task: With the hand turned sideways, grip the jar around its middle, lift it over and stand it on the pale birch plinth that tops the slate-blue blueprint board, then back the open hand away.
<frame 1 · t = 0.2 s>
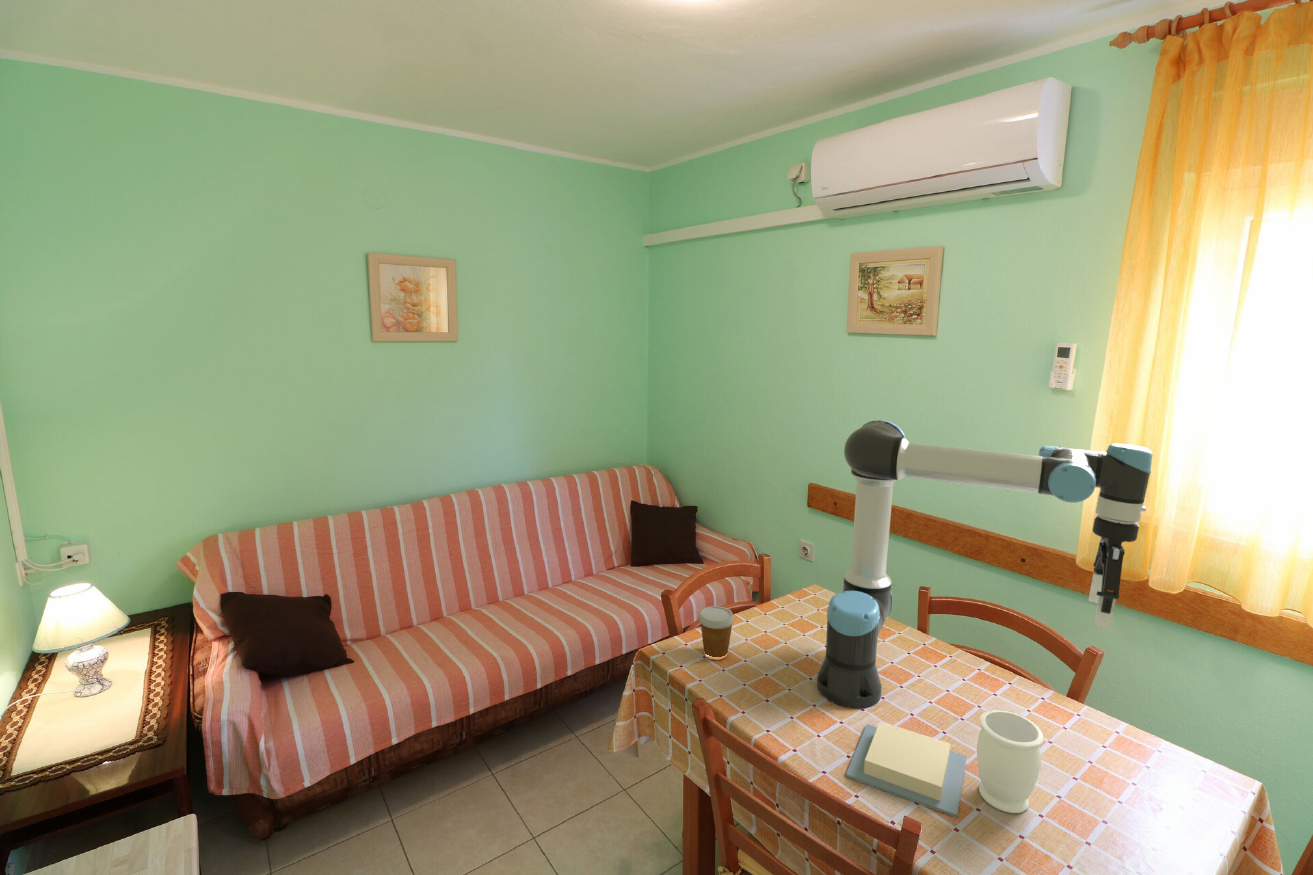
hand: (1098, 613, 132), 27 cm above the table, tool pointing down, fingers open, 13 cm apart
jar: (1003, 797, 117), on the table
blueprint base: (907, 767, 125), on the table
disposable coffee cup: (715, 655, 167), on the table
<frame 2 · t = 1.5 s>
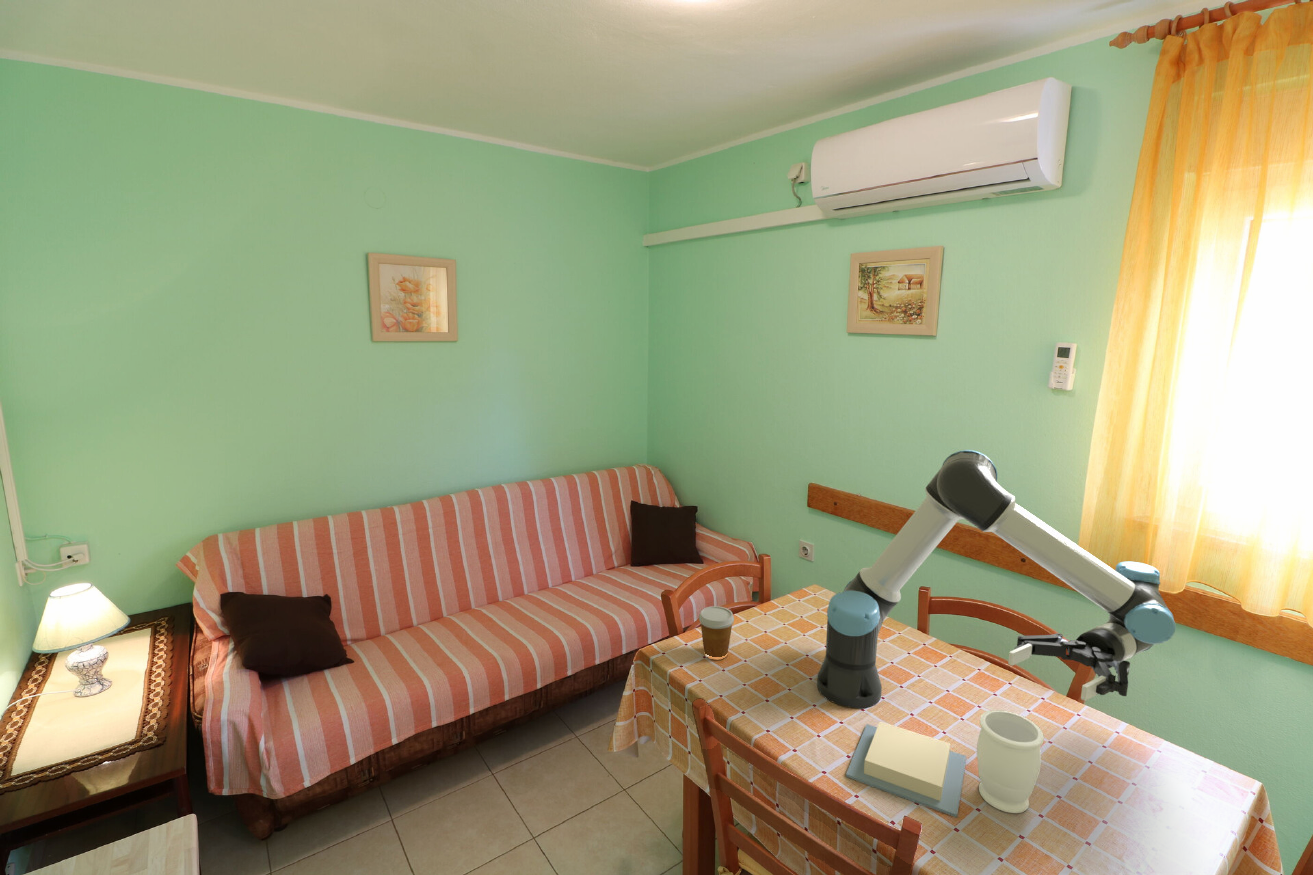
hand: (1045, 675, 118), 22 cm above the table, tool horizontal, fingers open, 13 cm apart
nothing on the table moved.
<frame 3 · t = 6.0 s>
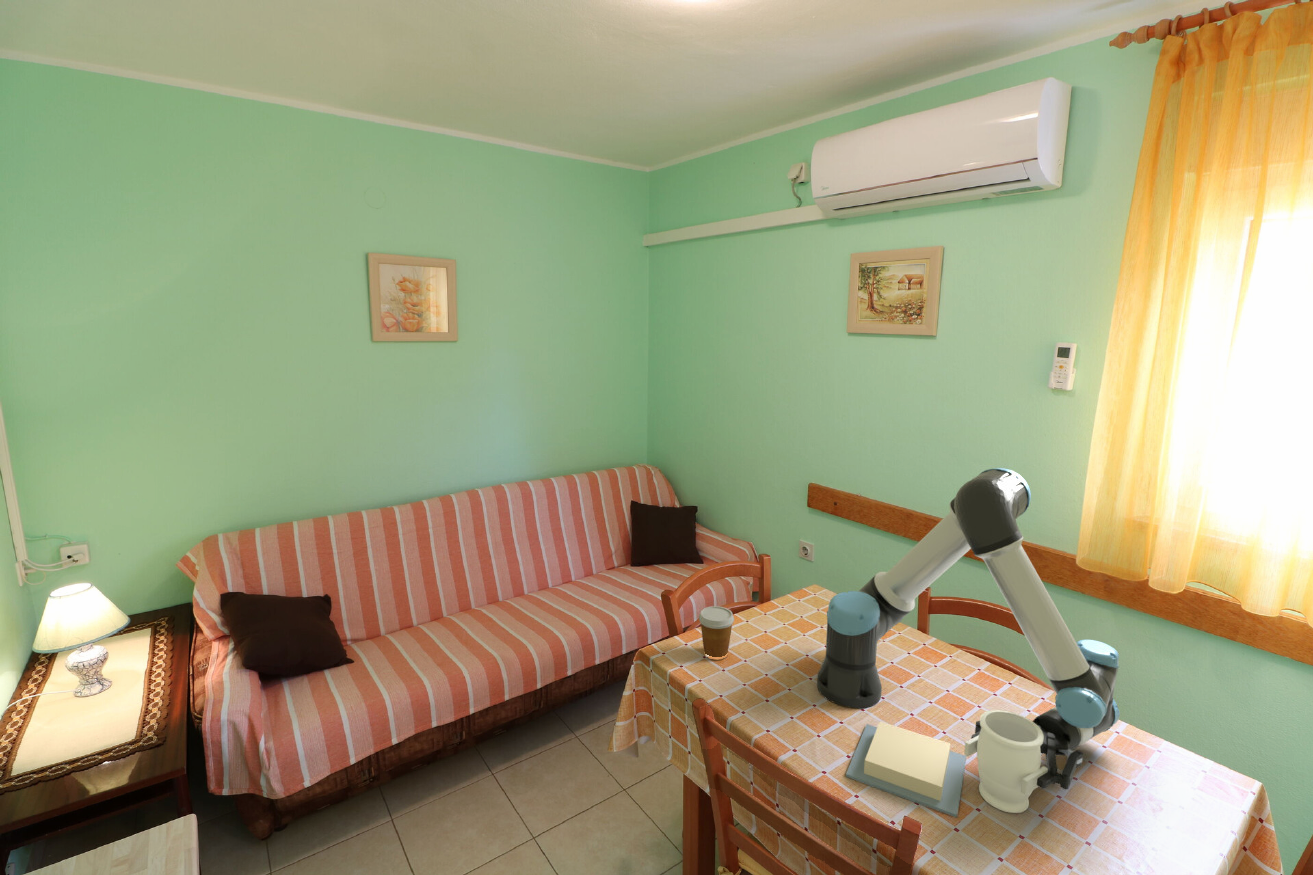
hand: (993, 767, 113), 8 cm above the table, tool horizontal, fingers closed on jar, 10 cm apart
jar: (1003, 797, 117), on the table, touching gripper
everything else where it was.
when the fingers open (13 cm above the table, at t = 10.6 s): jar drops 1 cm, resting on blueprint base.
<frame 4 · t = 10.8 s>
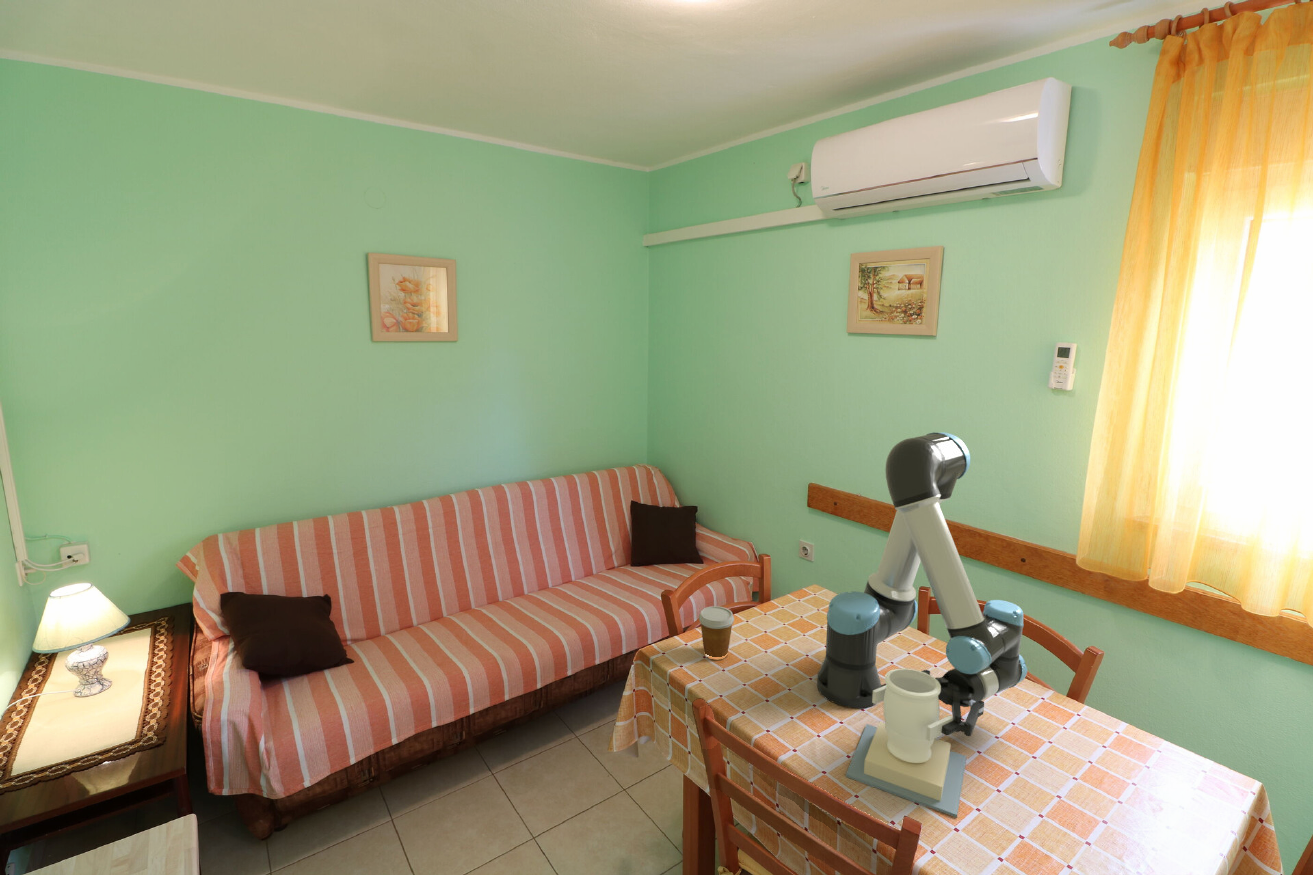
hand: (899, 714, 121), 13 cm above the table, tool horizontal, fingers open, 12 cm apart
jar: (908, 751, 124), point 4 cm above the table, touching blueprint base
everything else where it was.
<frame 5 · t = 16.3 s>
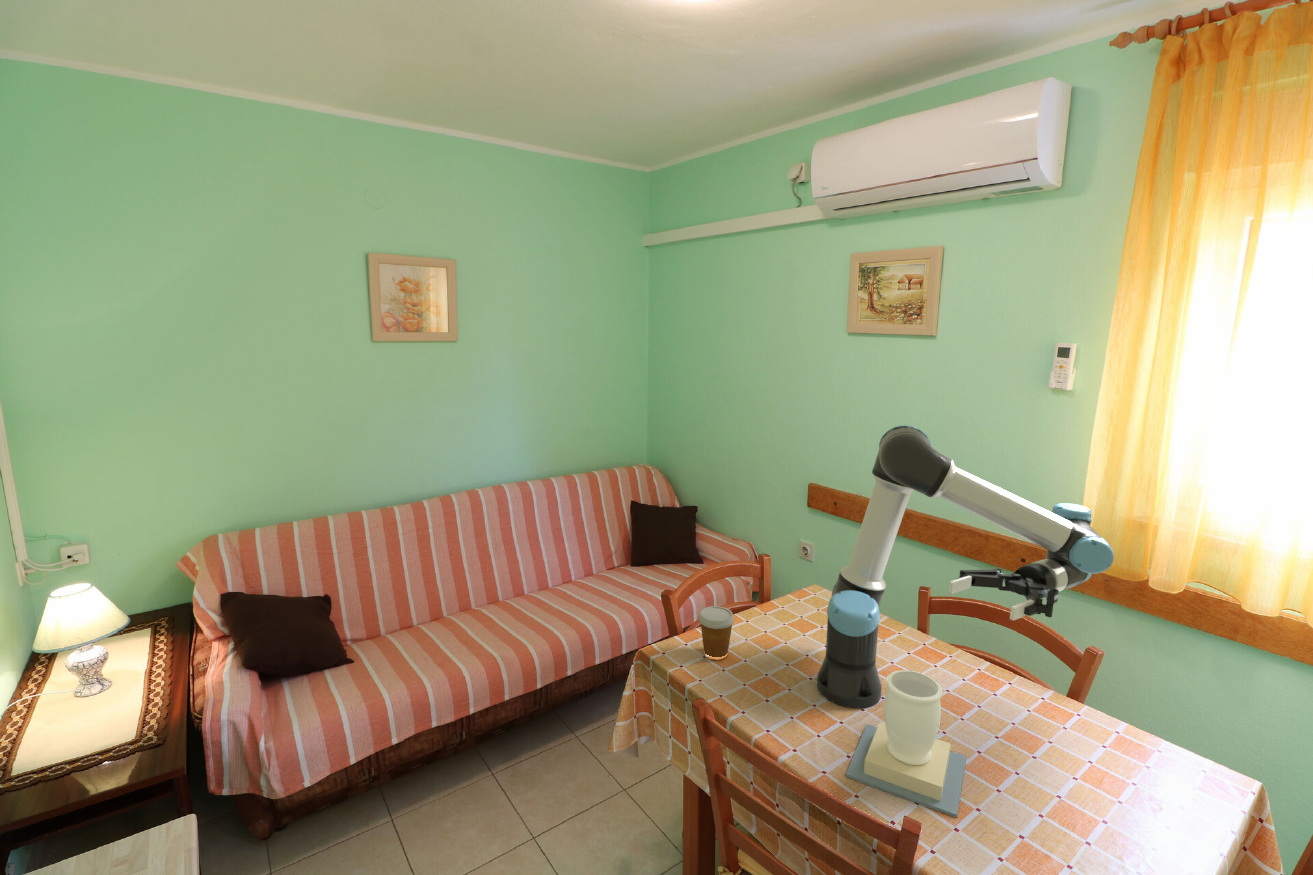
hand: (979, 600, 128), 32 cm above the table, tool horizontal, fingers open, 13 cm apart
nothing on the table moved.
at the end: jar inside the target area on the blueprint base (0.1 cm from its centre), point 3.4 cm above the blueprint base's base; jar tilted 0°; the gripper is holding nothing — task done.
